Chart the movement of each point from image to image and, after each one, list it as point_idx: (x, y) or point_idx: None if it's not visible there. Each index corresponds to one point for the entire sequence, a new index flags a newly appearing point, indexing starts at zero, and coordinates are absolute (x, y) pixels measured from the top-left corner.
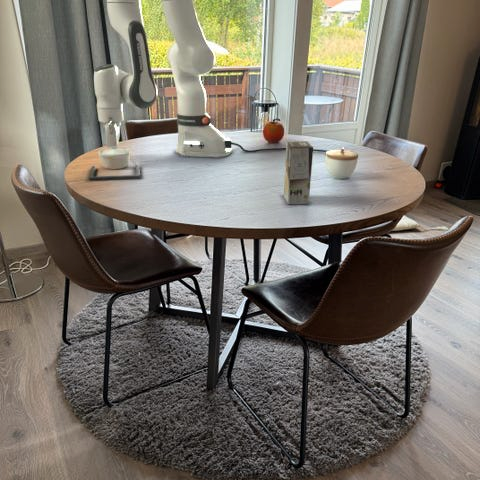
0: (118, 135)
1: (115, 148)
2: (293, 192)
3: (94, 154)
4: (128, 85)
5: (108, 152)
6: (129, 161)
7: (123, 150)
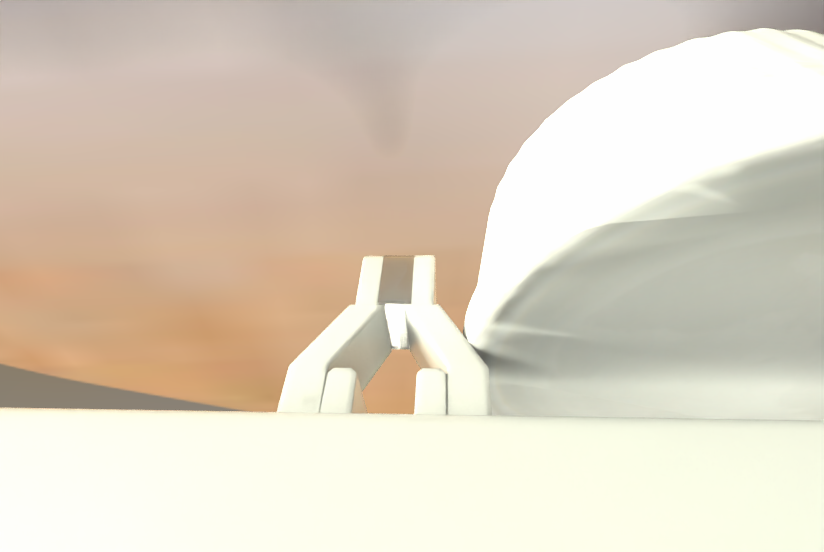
0: (197, 525)
1: (511, 361)
2: None
3: (144, 372)
4: None
5: (772, 414)
6: (791, 36)
7: (769, 256)
